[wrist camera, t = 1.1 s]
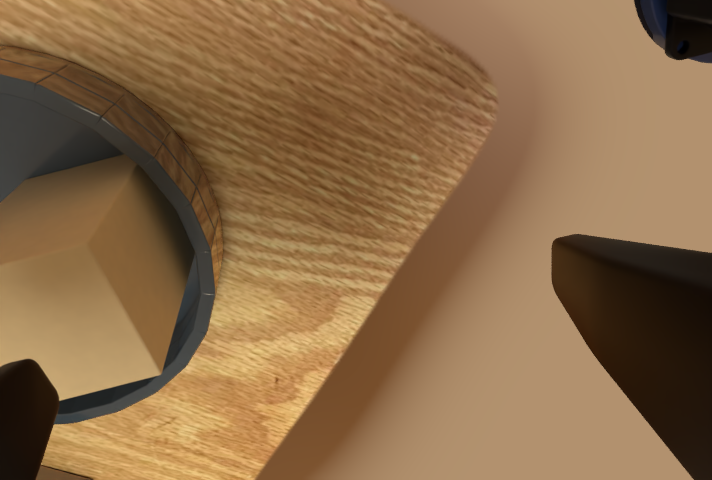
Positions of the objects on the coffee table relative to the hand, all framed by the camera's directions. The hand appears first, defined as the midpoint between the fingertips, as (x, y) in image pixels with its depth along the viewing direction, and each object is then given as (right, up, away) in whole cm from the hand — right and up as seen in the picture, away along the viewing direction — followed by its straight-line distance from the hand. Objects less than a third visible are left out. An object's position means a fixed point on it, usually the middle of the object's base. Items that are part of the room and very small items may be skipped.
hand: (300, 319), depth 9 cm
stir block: (-9, +2, +13) cm, 16 cm away
